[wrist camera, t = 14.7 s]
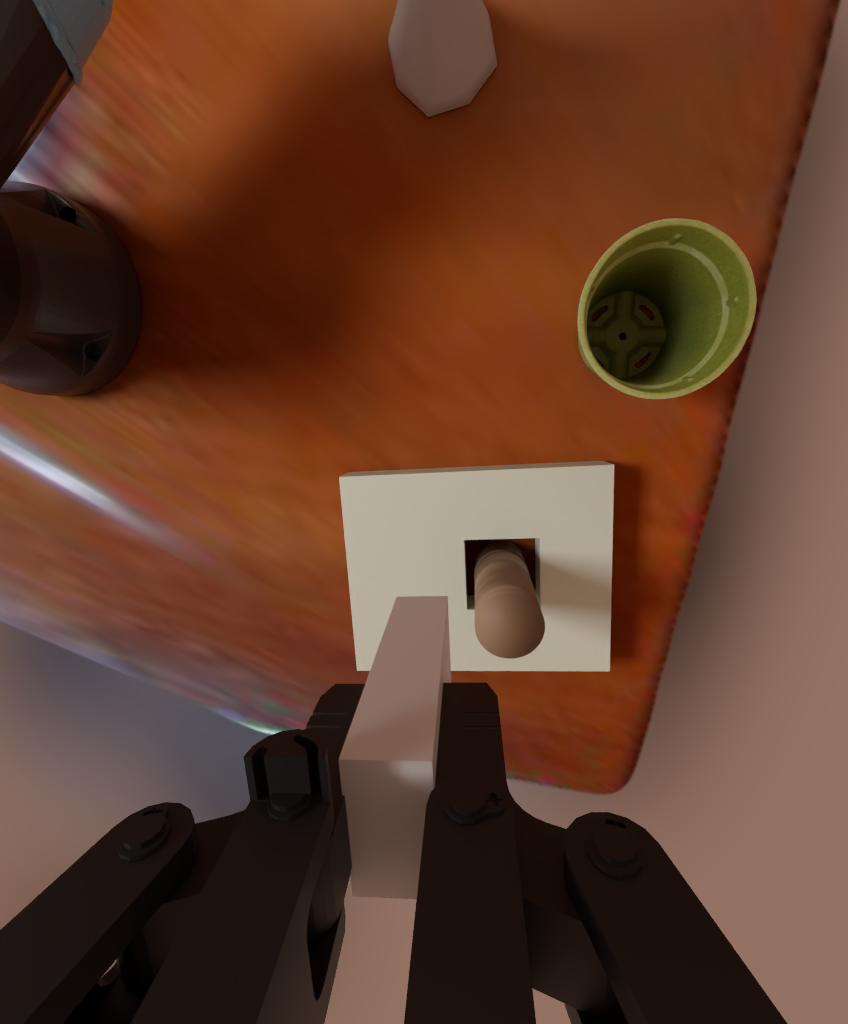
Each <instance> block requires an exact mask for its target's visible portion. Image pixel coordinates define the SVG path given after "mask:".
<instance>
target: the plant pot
mask: <svg viewBox="0 0 848 1024" xmlns="http://www.w3.org/2000/svg"><path fill="white" fill-rule="evenodd" d="M756 302H757V297H756V287H755V281H754V276H753V273H752V269H751V266H750V264H749V261H748V260H747V258H746V256H745V254H744V253H743V252H742V250H741V249H740V248H739V247H738V246H737V244H736V243H735V242H734V241H733V240H732V239H731V238H730V237H729V236H728V235H726V234H725V233H724V232H722V231H720V230H719V229H717V228H716V227H714V226H712V225H709V224H707V223H704V222H702V221H698V220H691V219H682V218H670V219H663V220H658V221H654V222H650V223H647V224H645V225H642V226H640V227H638V228H636V229H634V230H632V231H630V232H629V233H627V234H626V235H624V236H623V237H621V238H620V239H619V240H617V241H616V242H615V243H614V244H613V245H612V246H611V247H610V248H609V249H608V250H607V251H606V252H605V253H604V254H603V255H602V257H601V258H600V259H599V261H598V262H597V263H596V265H595V267H594V268H593V270H592V272H591V273H590V275H589V277H588V279H587V281H586V283H585V286H584V288H583V291H582V294H581V298H580V302H579V307H578V315H577V327H578V346H579V351H580V355H581V357H582V359H583V361H584V363H585V364H586V365H587V367H588V368H589V369H590V370H591V371H593V372H594V373H595V374H597V375H598V376H599V377H600V378H601V379H602V380H604V381H605V382H606V383H607V384H609V385H610V386H612V387H613V388H615V389H617V390H619V391H621V392H623V393H625V394H628V395H631V396H634V397H639V398H645V399H669V398H675V397H680V396H683V395H686V394H689V393H691V392H694V391H696V390H698V389H700V388H702V387H704V386H705V385H707V384H708V383H710V382H712V381H713V380H714V379H716V378H717V377H718V376H719V375H721V374H722V373H723V372H724V371H725V370H726V369H727V368H728V367H729V366H730V364H731V363H732V362H733V361H734V360H735V358H736V357H737V356H738V354H739V353H740V351H741V349H742V348H743V346H744V344H745V342H746V340H747V338H748V336H749V334H750V331H751V328H752V325H753V321H754V317H755V312H756ZM641 305H644V306H645V307H646V308H647V309H648V310H650V311H651V312H652V314H653V316H654V318H653V320H650V319H649V317H648V316H647V315H646V314H645V313H644V312H643V311H642V310H641V309H640V308H639V306H641ZM604 306H608V309H607V310H606V311H605V312H603V313H602V314H601V315H600V316H599V317H598V318H597V320H596V321H594V322H593V321H592V318H593V315H594V314H595V313H596V312H597V311H598V310H599V309H600V308H602V307H604ZM620 333H625V334H626V338H625V340H621V339H620V338H619V335H620ZM648 352H650V356H649V358H648V359H647V361H646V362H645V363H644V364H643V365H641V366H640V367H635V364H636V363H637V362H639V361H640V360H641V359H642V358H643V357H644V356H645V355H647V354H648ZM594 356H595V357H596V358H597V360H598V361H599V362H600V363H602V364H603V365H604V368H602V367H601V365H600V364H599V363H598V361H597V360H596V358H595V357H594Z"/></svg>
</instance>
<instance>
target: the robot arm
mask: <svg viewBox="0 0 848 1024" xmlns="http://www.w3.org/2000/svg"><path fill="white" fill-rule="evenodd" d="M112 6H113V0H0V383H2V384H4V385H7V386H9V387H12V388H14V389H17V390H20V391H24V392H28V393H33V394H39V395H57V396H74V395H81V394H85V393H89V392H92V391H94V390H96V389H98V388H100V387H102V386H104V385H105V384H107V383H108V382H110V381H111V380H112V379H113V378H114V377H116V376H117V374H118V373H119V372H120V371H121V370H122V369H123V368H124V366H125V365H126V363H127V362H128V360H129V358H130V357H131V355H132V352H133V350H134V348H135V345H136V342H137V339H138V336H139V331H140V325H141V295H140V289H139V284H138V280H137V276H136V273H135V270H134V267H133V265H132V262H131V260H130V258H129V256H128V254H127V252H126V250H125V248H124V246H123V245H122V243H121V242H120V240H119V239H118V237H117V236H116V235H115V233H114V232H113V231H112V230H111V229H110V228H109V226H108V225H107V224H106V223H105V222H104V221H103V220H101V219H100V218H99V217H98V216H97V215H95V214H94V213H93V212H92V211H90V210H89V209H87V208H85V207H84V206H82V205H80V204H78V203H76V202H75V201H73V200H71V199H69V198H67V197H65V196H63V195H61V194H59V193H57V192H55V191H53V190H50V189H47V188H45V187H42V186H38V185H35V184H30V183H24V182H16V181H9V180H7V179H8V178H9V176H10V175H11V173H12V172H13V171H14V169H15V168H16V166H17V165H18V163H19V162H20V161H21V159H22V158H23V156H24V155H25V153H26V152H27V151H28V149H29V148H30V146H31V145H32V143H33V142H34V141H35V139H36V138H37V136H38V135H39V133H40V132H41V131H42V129H43V128H44V126H45V125H46V123H47V122H48V121H49V119H50V118H51V116H52V115H53V113H54V112H55V111H56V109H57V108H58V106H59V105H60V103H61V102H62V101H63V99H64V98H65V96H66V95H67V93H68V92H69V91H70V89H71V88H72V86H73V85H74V84H75V85H77V86H79V84H80V83H81V81H82V75H83V73H82V68H83V66H84V65H85V63H86V61H87V59H88V58H89V56H90V54H91V53H92V51H93V49H94V48H95V46H96V44H97V42H98V41H99V39H100V37H101V36H102V34H103V32H104V30H105V29H106V27H107V25H108V23H109V21H110V18H111V14H112ZM244 762H245V769H246V775H247V782H248V788H249V794H250V802H249V804H248V806H247V808H246V809H245V810H244V811H241V812H238V813H235V814H232V815H229V816H225V817H221V818H217V819H213V820H209V821H205V822H201V823H197V824H195V822H194V818H193V815H192V813H191V810H190V809H189V808H187V807H185V806H184V805H182V804H181V803H168V802H166V803H161V804H157V805H152V806H148V807H146V808H144V809H142V810H140V811H138V812H136V813H133V814H131V815H130V816H128V817H127V818H125V819H124V820H123V821H122V822H120V823H119V824H117V825H116V826H115V827H114V828H112V829H111V830H110V831H109V832H108V833H107V834H106V835H104V837H102V838H101V839H100V840H99V841H98V842H97V843H96V844H95V845H94V846H92V847H91V848H90V849H89V850H88V851H87V852H86V853H85V854H84V855H82V856H81V857H80V858H79V859H78V860H77V861H76V862H75V863H74V864H73V865H72V866H70V867H69V868H68V869H67V870H66V871H65V872H64V873H63V874H62V875H60V876H59V877H58V878H57V879H56V880H55V881H54V882H53V883H52V884H51V885H49V886H48V887H47V888H46V889H45V890H44V891H43V892H42V893H41V894H40V895H38V896H37V897H36V898H35V899H34V900H33V901H32V902H31V903H30V904H29V905H28V906H26V907H25V908H24V909H23V910H22V911H21V912H20V913H19V914H18V915H16V917H14V918H13V919H12V920H11V921H10V922H9V923H8V924H7V925H5V926H4V927H3V928H2V929H1V930H0V1024H324V1022H325V1018H326V1013H327V1008H328V1004H329V999H330V995H331V991H332V986H333V982H334V978H335V973H336V969H337V964H338V960H339V956H340V951H341V946H342V942H343V938H344V933H345V908H344V897H345V893H346V889H347V885H348V881H349V877H350V875H351V884H352V894H353V896H359V897H382V898H404V899H417V902H416V912H415V921H414V931H413V942H412V952H411V962H410V971H409V981H408V991H407V1000H406V1010H405V1020H404V1024H536V1019H535V1010H534V1001H533V991H532V988H533V989H535V990H537V991H540V992H542V993H544V994H546V995H548V996H550V997H552V998H555V999H557V1000H559V1001H561V1002H563V1003H565V1007H566V1010H567V1012H568V1016H569V1018H570V1021H571V1024H787V1023H786V1021H785V1020H784V1018H783V1017H782V1016H781V1014H780V1013H779V1011H778V1010H777V1009H776V1007H775V1006H774V1004H773V1003H772V1002H771V1000H770V999H769V997H768V996H767V995H766V993H765V992H764V990H763V989H762V987H761V986H760V985H759V983H758V982H757V980H756V979H755V978H754V976H753V975H752V973H751V972H750V971H749V969H748V968H747V966H746V965H745V964H744V962H743V961H742V959H741V958H740V957H739V955H738V954H737V953H736V951H735V950H734V948H733V947H732V945H731V944H730V943H729V941H728V940H727V938H726V937H725V935H724V934H723V933H722V931H721V930H720V928H719V927H718V926H717V924H716V923H715V922H714V920H713V919H712V917H711V916H710V914H709V913H708V912H707V910H706V909H705V907H704V906H703V905H702V903H701V902H700V900H699V899H698V898H697V896H696V895H695V893H694V892H693V891H692V889H691V888H690V886H689V885H688V884H687V882H686V881H685V879H684V878H683V877H682V875H681V874H680V872H679V871H678V870H677V868H676V867H675V866H674V864H673V862H672V861H671V860H670V858H669V857H668V855H667V854H666V853H665V851H664V850H663V848H662V847H661V846H660V844H659V843H658V842H657V841H656V840H655V839H654V838H653V837H652V836H651V835H650V834H649V833H648V832H647V831H646V829H644V828H643V827H641V826H640V825H638V824H636V823H635V822H633V821H631V820H630V819H628V818H625V817H622V816H619V815H615V814H612V813H608V812H598V813H597V812H591V813H588V814H585V815H583V816H580V817H578V818H576V819H575V820H574V821H573V823H572V824H571V825H570V826H569V827H568V828H567V829H564V828H561V827H558V826H555V825H552V824H549V823H546V822H544V821H541V820H539V819H536V818H534V817H533V816H531V815H530V814H528V813H527V812H525V811H524V810H523V809H522V808H521V807H520V806H519V805H518V804H517V803H516V802H515V801H514V799H513V798H512V796H511V794H510V792H509V789H508V786H507V781H506V772H505V762H504V753H503V744H502V735H501V725H500V716H499V707H498V697H497V695H496V694H495V693H494V691H493V690H492V689H491V688H490V686H489V685H488V684H487V683H451V662H450V639H449V616H448V596H410V597H396V600H395V603H394V605H393V608H392V611H391V614H390V617H389V619H388V622H387V625H386V628H385V631H384V633H383V636H382V639H381V642H380V645H379V647H378V650H377V653H376V656H375V659H374V661H373V664H372V667H371V670H370V673H369V675H368V678H367V681H366V684H335V685H334V686H333V687H331V688H330V689H329V690H328V691H327V692H326V693H325V694H323V695H322V696H321V697H320V699H319V701H318V703H317V705H316V707H315V709H314V711H313V716H311V717H310V719H309V721H308V723H307V725H306V729H304V730H300V729H296V730H288V731H282V732H279V733H276V734H273V735H271V736H268V737H266V738H264V739H263V740H262V741H260V742H258V743H257V744H255V745H254V746H253V747H252V748H251V749H250V750H249V751H248V752H247V753H246V755H245V756H244ZM115 960H117V962H116V964H115V965H114V966H113V967H112V968H111V969H110V970H109V971H108V972H107V973H106V974H105V975H104V973H105V972H106V971H107V970H108V969H109V967H110V966H111V965H112V964H113V963H114V961H115ZM103 975H104V976H103ZM102 976H103V977H102ZM101 977H102V978H101ZM100 978H101V979H100Z"/></svg>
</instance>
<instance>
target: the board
mask: <svg viewBox="0 0 848 1024" xmlns="http://www.w3.org/2000/svg"><path fill="white" fill-rule="evenodd" d="M339 482H340V492H341V503H342V514H343V525H344V536H345V546H346V557H347V568H348V579H349V589H350V600H351V611H352V622H353V633H354V643H355V654H356V665H357V671H370V670H371V667H372V664H373V661H374V659H375V656H376V653H377V650H378V647H379V645H380V642H381V639H382V636H383V633H384V631H385V628H386V625H387V622H388V619H389V617H390V614H391V611H392V608H393V605H394V603H395V600H396V597H410V596H448V616H449V639H450V662H451V671H610V639H611V594H612V549H613V504H614V464H611V463H609V462H606V461H582V462H560V463H538V464H516V465H494V466H472V467H450V468H428V469H406V470H384V471H362V472H348V473H346V474H344V475H342V476H340V477H339ZM522 538H535V578H536V596H537V599H538V602H539V605H540V608H541V611H542V614H543V617H544V621H545V632H544V636H543V639H542V641H541V643H540V644H539V645H538V647H537V648H536V649H535V650H534V651H532V652H531V653H529V654H528V655H525V656H523V657H520V658H513V659H508V658H501V657H498V656H495V655H493V654H491V653H490V652H488V651H487V650H486V649H485V648H484V647H483V646H482V645H481V644H480V642H479V640H478V639H477V636H476V633H475V595H468V593H467V569H466V544H465V540H487V539H522Z"/></svg>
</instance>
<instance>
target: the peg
mask: <svg viewBox="0 0 848 1024" xmlns="http://www.w3.org/2000/svg"><path fill="white" fill-rule="evenodd" d="M474 581H475V633H476V636H477V639H478V640H479V642H480V644H481V645H482V646H483V647H484V648H485V649H486V650H487V651H488V652H490V653H491V654H493V655H495V656H498V657H501V658H508V659H513V658H520V657H523V656H525V655H528V654H529V653H531V652H532V651H534V650H535V649H536V648H537V647H538V645H539V644H540V643H541V641H542V639H543V636H544V632H545V621H544V617H543V614H542V611H541V608H540V605H539V602H538V599H537V596H536V593H535V590H534V587H533V584H532V581H531V578H530V575H529V571H528V567H527V565H526V563H525V560H524V557H523V555H522V552H521V551H520V549H519V548H518V547H517V546H516V545H515V544H513V543H512V542H510V541H507V540H503V539H496V540H491V541H489V542H487V543H485V544H484V545H483V546H482V547H481V548H480V549H479V550H478V552H477V554H476V557H475V571H474Z"/></svg>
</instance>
